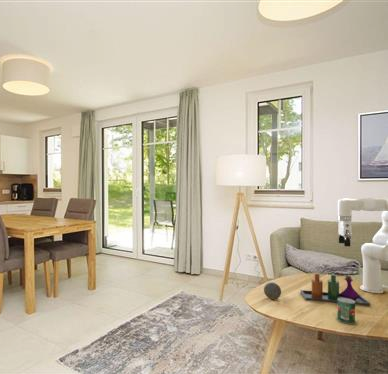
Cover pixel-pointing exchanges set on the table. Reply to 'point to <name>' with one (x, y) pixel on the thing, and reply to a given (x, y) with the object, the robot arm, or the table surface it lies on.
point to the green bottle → (333, 288)
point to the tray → (307, 296)
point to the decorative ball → (272, 290)
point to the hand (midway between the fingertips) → (344, 244)
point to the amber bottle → (317, 287)
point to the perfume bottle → (349, 289)
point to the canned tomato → (346, 310)
